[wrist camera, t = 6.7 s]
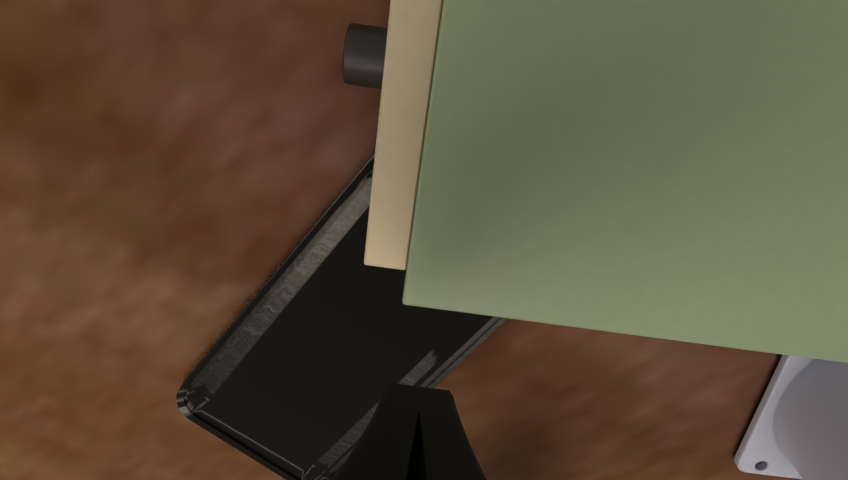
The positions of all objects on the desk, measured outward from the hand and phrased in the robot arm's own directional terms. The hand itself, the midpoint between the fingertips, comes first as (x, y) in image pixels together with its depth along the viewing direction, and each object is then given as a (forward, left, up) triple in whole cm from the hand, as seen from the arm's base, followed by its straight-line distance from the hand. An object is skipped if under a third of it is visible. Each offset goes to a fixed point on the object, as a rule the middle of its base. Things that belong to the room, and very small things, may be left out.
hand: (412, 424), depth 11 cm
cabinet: (-6, -7, -10) cm, 13 cm away
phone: (+2, +4, -10) cm, 12 cm away
